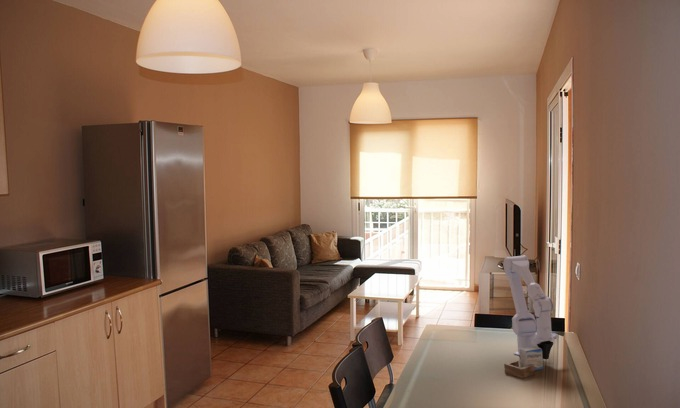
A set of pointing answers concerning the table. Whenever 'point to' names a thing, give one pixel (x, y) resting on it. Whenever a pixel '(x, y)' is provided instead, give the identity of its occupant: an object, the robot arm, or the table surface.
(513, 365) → the open wooden box
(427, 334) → the table surface
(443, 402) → the table surface
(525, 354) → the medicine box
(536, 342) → the robot arm
